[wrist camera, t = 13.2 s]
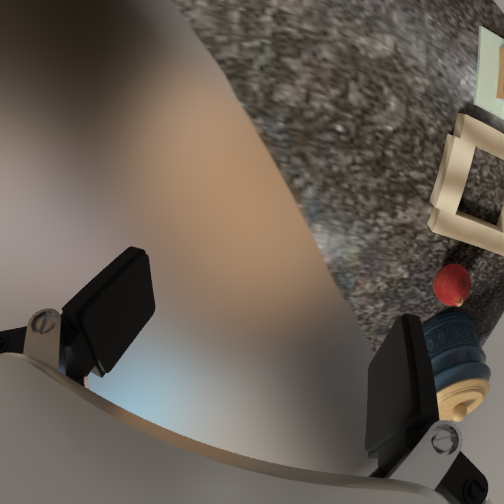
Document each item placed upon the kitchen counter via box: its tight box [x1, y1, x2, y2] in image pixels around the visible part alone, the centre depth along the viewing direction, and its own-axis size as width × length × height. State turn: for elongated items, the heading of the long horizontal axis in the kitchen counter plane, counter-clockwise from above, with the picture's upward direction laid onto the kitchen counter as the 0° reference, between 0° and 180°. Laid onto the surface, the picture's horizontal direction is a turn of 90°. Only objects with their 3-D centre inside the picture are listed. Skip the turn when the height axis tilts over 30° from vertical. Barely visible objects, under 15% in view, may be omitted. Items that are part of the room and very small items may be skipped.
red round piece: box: [434, 263, 471, 307], centre depth 32 cm, size 6×6×8 cm
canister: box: [422, 312, 491, 422], centre depth 34 cm, size 13×13×18 cm
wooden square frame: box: [428, 113, 504, 256], centre depth 27 cm, size 16×16×2 cm
